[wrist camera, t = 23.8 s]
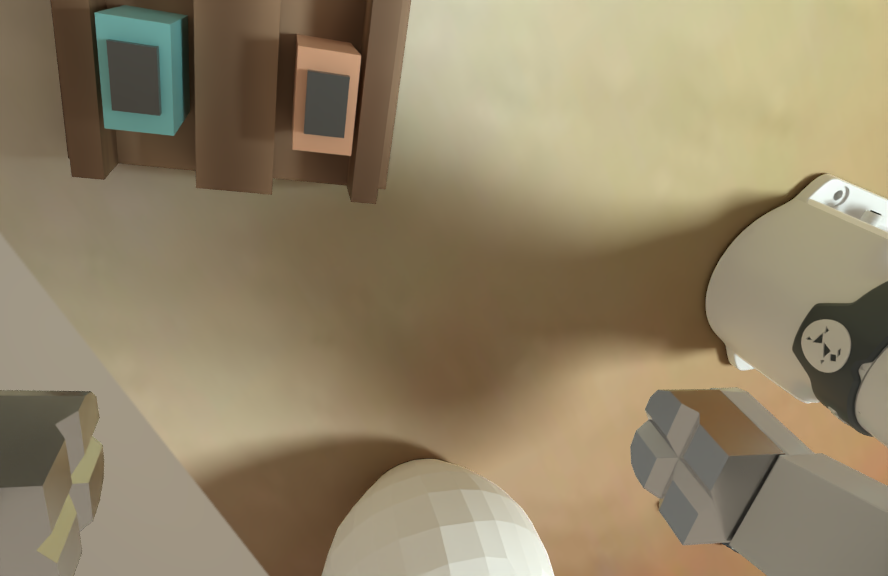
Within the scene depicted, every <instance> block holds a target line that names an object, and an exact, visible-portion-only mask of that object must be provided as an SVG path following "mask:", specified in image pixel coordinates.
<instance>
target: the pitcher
mask: <svg viewBox="0 0 888 576" xmlns="http://www.w3.org/2000/svg"><path fill="white" fill-rule="evenodd" d="M322 576H554V573H553V570H552V567H551V563H550V560H549V557H548V553H547V551H546V549H545V547H544V545H543V543H542V542H541V540H540V538H539V536H538V534H537V532H536V530H535V528H534V526H533V524H532V522H531V520H530V519H529V517H528V516H527V514H526V513H525V511H524V510H523V509H522V508H521V507H520V506H519V505H518V504H517V503H516V502H515V501H514V500H513V499H512V498H511V497H510V496H509V495H508V494H507V493H506V492H505V491H504V490H502V489H501V488H500V487H499V486H497V485H496V484H495V483H493V482H491V481H490V480H488V479H486V478H484V477H483V476H481V475H479V474H477V473H475V472H473V471H471V470H470V469H468V468H466V467H462V466H459V465H455V464H452V463H448V462H445V461H441V460H438V459H420V460H412V461H409V462H406V463H403V464H400V465H398V466H396V467H394V468H392V469H390V470H389V471H388V472H386V473H385V474H383V475H382V476H381V477H380V478H379V479H378V480H377V481H376V482H375V483H374V484H373V485H372V486H371V487H370V488H369V489H368V490H367V491H366V493H365V494H364V495H363V496H362V497H361V498H360V500H359V501H358V502H357V503H356V504H355V505H354V507H353V508H352V509H351V510H350V512H349V513H348V515H347V516H346V517H345V519H344V520H343V521H342V523H341V524H340V526H339V527H338V529H337V531H336V534H335V536H334V539H333V542H332V544H331V547H330V550H329V552H328V555H327V559H326V562H325V566H324V569H323V572H322Z"/></svg>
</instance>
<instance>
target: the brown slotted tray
mask: <svg viewBox="0 0 888 576" xmlns="http://www.w3.org/2000/svg"><path fill="white" fill-rule="evenodd" d="M123 5H128V6H134V7H140V8H146V9H152V10H158V11H164V12H170V13H177V14H183V15H188V41H189V87H190V112H189V114H188V115H187V117H186V118H185V120H184V121H183V123H182V124H181V126H180V127H179V129H178V131H177V132H176V134H175V135H174V136H171V135H161V134H152V133H143V132H134V131H124V130H115V129H106V128H104V118H103V106H102V94H101V83H100V71H99V60H98V48H97V37H96V25H95V14H94V12H98V11H102V10H106V9H110V8H114V7H119V6H123ZM410 5H411V0H51V8H52V17H53V26H54V35H55V44H56V53H57V62H58V70H59V79H60V88H61V97H62V106H63V115H64V124H65V133H66V142H67V151H68V158H70V165H71V174H72V177H81V178H92V179H103V180H104V179H105V178H106V177H107V176H108V175H109V173H110V172H111V171H112V170H113V169H114V167H115V166H116V165H117V164H118V163H122V164H132V165H142V166H153V167H163V168H173V169H184V170H194V171H196V188H204V189H215V190H226V191H237V192H249V193H260V194H271V195H272V184H273V178H276V179H286V180H297V181H307V182H317V183H328V184H338V185H347V189H348V192H349V196H350V200H351V202H360V203H372V204H376V201H377V193H378V188H379V189H385V188H386V181H387V173H388V166H389V159H390V151H391V144H392V137H393V129H394V122H395V115H396V107H397V100H398V93H399V85H400V78H401V71H402V63H403V56H404V49H405V41H406V34H407V27H408V19H409V12H410ZM296 34H299V35H306V36H312V37H318V38H324V39H330V40H336V41H343V42H349V43H351V44H352V45H353V46H354V47H355V49H356V50H357V51H358V52H359V53H360V55H361V63H360V73H359V83H358V93H357V103H356V113H355V122H354V132H353V142H352V152H351V156H347V155H338V154H328V153H319V152H310V151H300V150H292V108H293V89H294V71H295V52H296Z"/></svg>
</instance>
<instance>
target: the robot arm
mask: <svg viewBox="0 0 888 576" xmlns="http://www.w3.org/2000/svg"><path fill="white" fill-rule="evenodd" d="M706 315H707V319H708V322H709V324H710V326H711V328H712V330H713V331H714V332H715V334H716V335H717V336H718V337H719V338H720V339H721V340H722V341H723V342H724V344H725V345H726V351H727V356H728V360H729V362H730V364H732V365H733V366H734V367H736V368H737V369H739V370H750V369H756V370H757V371H759V372H760V373H762V374H763V375H764V376H766V377H767V378H768V379H770V380H771V381H773V382H774V383H775V384H777V385H778V386H780V387H781V388H782V389H784V390H785V391H787V392H788V393H789V394H791V395H792V396H794V397H795V398H796V399H798V400H800V401H802V402H804V403H810V402H815V403H816V402H821V403H822V404H823V405H824V406H826V407H827V408H828V409H829V410H831V413H832V414H833V415H834V416H836V417H837V418H838V419H840V420H841V421H842V422H844V423H845V424H847V425H850V426H851V427H853V428H854V429H855V430H857V431H858V432H860V433H862V434H863V435H867V436H871V437H875V438H876V439H877V440H878V441H880V442H881V443H882V444H883V445H885V446H886V447H887V448H888V199H887V198H885V197H882V196H880V195H878V194H875V193H873V192H871V191H868V190H866V189H864V188H861V187H859V186H857V185H855V184H852V183H850V182H848V181H845V180H843V179H841V178H838V177H836V176H834V175H831V174H823V175H821V176H819V177H818V178H816V179H815V180H813V181H812V182H811V183H810V184H809V185H808V186H806V187H805V188H804V189H803V190H802V191H801V192H800V193H799V194H798V195H797V196H796V197H795V198H794V199H792V200H791V201H789V202H787V203H786V204H784V205H782V206H780V207H778V208H776V209H774V210H772V211H770V212H768V213H766V214H765V215H763V216H762V217H760V218H759V219H757V220H756V221H754V222H753V223H752V224H751V225H749V226H748V227H747V228H746V229H745V230H744V231H743V232H742V233H741V234H740V235H739V236H738V237H737V238H736V239H735V240H734V241H733V242H732V243H731V245H730V246H729V247H728V248H727V250H726V251H725V253H724V254H723V255H722V257H721V259H720V260H719V262H718V264H717V266H716V268H715V270H714V272H713V274H712V277H711V279H710V282H709V285H708V289H707V294H706ZM645 411H646V414H647V417H648V419H649V420H648V421H647V422H645V423H644V424H643V425H642V426H641V427H640V428H639V429H638V430H636V433H635V435H634V438H633V441H632V444H631V464H632V467H633V470H634V472H635V475H636V477H637V479H638V480H639V482H640V483H641V485H642V486H643V488H644V489H646V490H647V491H649V492H650V493H652V494H653V495H655V496H656V497H658V498H659V511H660V513H661V514H662V516H663V517H664V519H665V520H666V522H667V523H668V524H669V526H670V527H671V529H672V530H673V532H674V533H675V535H676V536H677V538H678V539H679V540H680V542H681V543H682V545H695V544H711V543H728V542H730V544H729V546H731V547H732V548H733V549H734V550H736V551H737V552H738V553H739V554H741V555H742V556H743V557H745V558H746V559H747V560H748V561H750V562H751V563H752V564H753V565H755V566H756V567H757V568H758V569H760V570H761V571H762V572H763V573H765V574H766V575H767V576H888V486H886V485H884V484H882V483H880V482H878V481H876V480H874V479H872V478H870V477H868V476H866V475H864V474H862V473H860V472H858V471H856V470H854V469H852V468H850V467H848V466H846V465H844V464H842V463H840V462H838V461H836V460H834V459H832V458H830V457H828V456H826V455H824V454H814V453H813V452H812V451H811V450H810V449H809V448H808V447H807V446H806V445H805V444H804V443H802V442H801V441H800V440H799V439H798V438H797V437H796V436H795V435H794V434H793V433H792V432H790V431H789V430H788V429H787V428H786V427H785V426H784V425H783V424H782V423H781V422H780V421H779V420H777V419H776V418H775V417H774V416H773V415H772V414H771V413H770V412H769V411H768V410H767V409H766V408H764V407H763V406H762V405H761V404H760V403H759V402H758V401H757V400H756V399H755V398H754V397H752V396H751V395H750V394H749V393H748V392H746V391H744V390H742V389H739V388H737V387H736V388H711V389H685V390H657V391H656V392H655V393H654V394H653V395H652V396H651V397H650V399H649V401H648V404H647V406H646V408H645ZM99 418H100V417H99V411H98V405H97V398H96V396H95V395H94V394H93V393H92V392H91V391H89V392H88V391H87V392H85V391H29V390H27V391H26V390H0V576H74V574H75V571H76V568H77V565H78V562H79V560H80V557H81V554H82V547H81V540H80V533H79V532H80V531H81V530H83V529H84V528H85V527H86V526H87V525H89V524H90V523H91V522H92V521H93V519H94V516H95V513H96V510H97V507H98V504H99V501H100V496H101V490H102V484H103V479H104V455H103V445H102V444H101V443H100V442H99V441H97V440H96V439H95V438H94V437H93V436H92V435H93V433H94V430H95V428H96V425H97V423H98V420H99Z"/></svg>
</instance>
